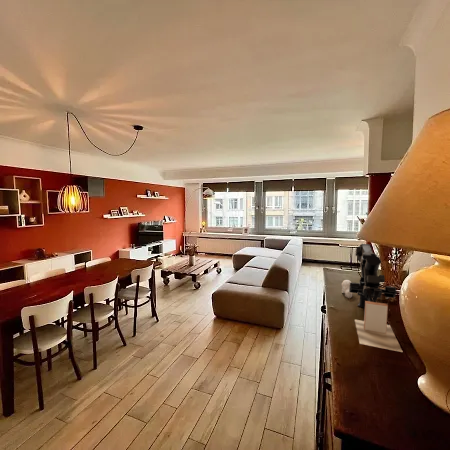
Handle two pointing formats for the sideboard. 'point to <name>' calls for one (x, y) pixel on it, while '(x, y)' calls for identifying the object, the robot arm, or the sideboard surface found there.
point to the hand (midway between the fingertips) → (373, 307)
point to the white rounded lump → (346, 288)
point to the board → (377, 337)
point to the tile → (375, 316)
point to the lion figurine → (387, 297)
